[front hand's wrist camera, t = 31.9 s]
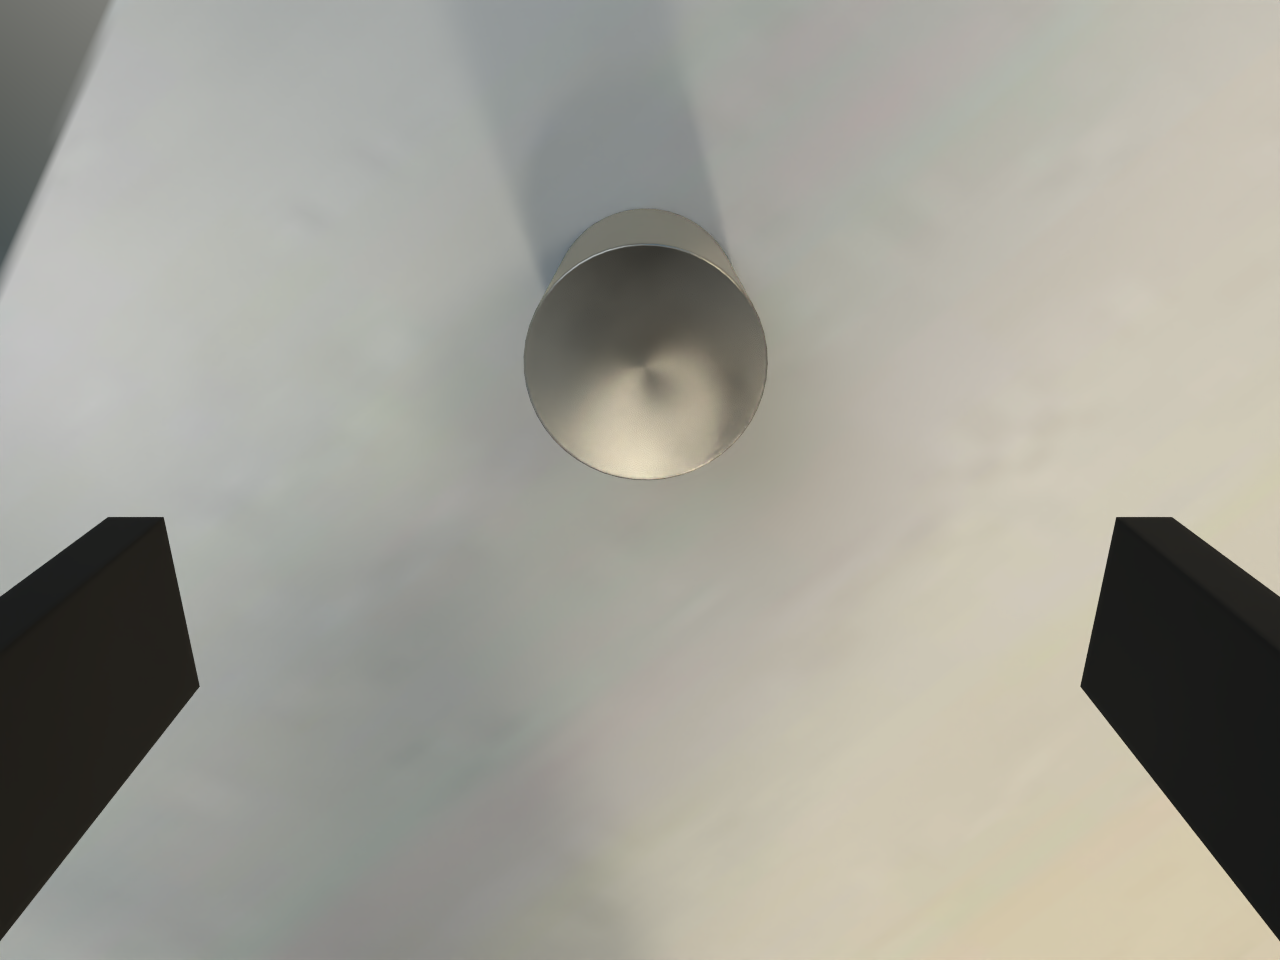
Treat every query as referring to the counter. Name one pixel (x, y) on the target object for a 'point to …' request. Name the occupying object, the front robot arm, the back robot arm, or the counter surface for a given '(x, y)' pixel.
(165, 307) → the counter surface
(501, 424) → the counter surface
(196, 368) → the counter surface
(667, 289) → the can
